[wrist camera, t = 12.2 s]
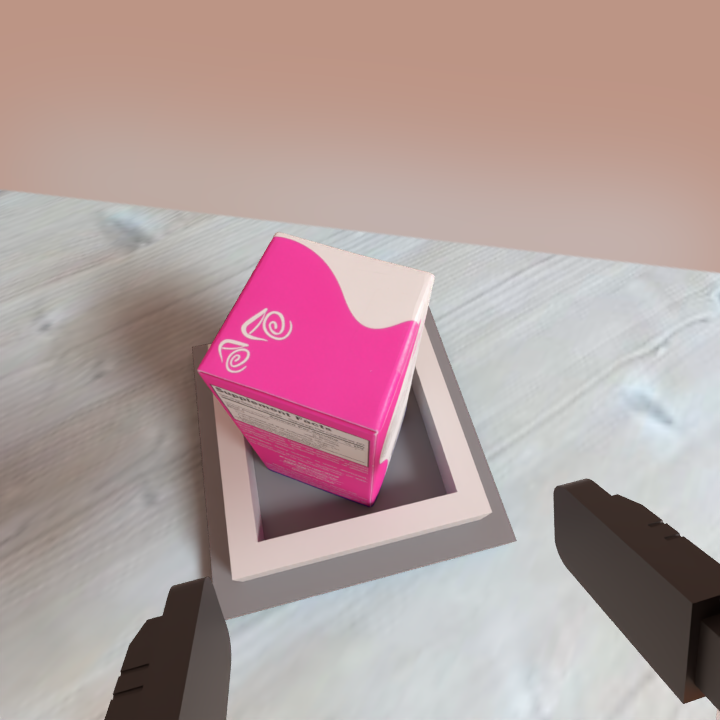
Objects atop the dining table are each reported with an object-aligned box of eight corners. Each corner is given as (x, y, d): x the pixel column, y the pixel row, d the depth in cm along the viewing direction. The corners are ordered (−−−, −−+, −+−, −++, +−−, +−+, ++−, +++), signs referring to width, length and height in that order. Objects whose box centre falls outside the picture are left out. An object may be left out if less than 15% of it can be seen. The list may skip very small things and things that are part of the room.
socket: (221, 621, 21) (202, 624, 18) (197, 355, 27) (180, 328, 24) (509, 543, 23) (531, 535, 20) (424, 310, 29) (431, 280, 26)
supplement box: (306, 372, 26) (276, 222, 15) (408, 407, 25) (448, 272, 14) (261, 470, 23) (189, 367, 13) (373, 512, 22) (391, 438, 12)
